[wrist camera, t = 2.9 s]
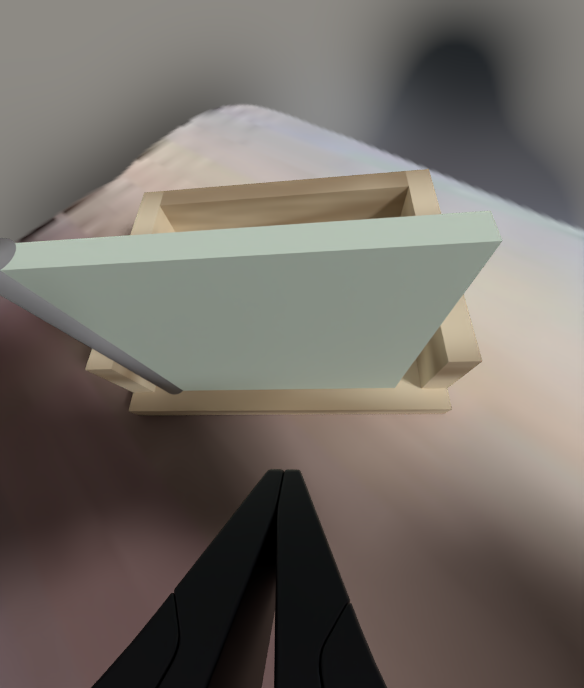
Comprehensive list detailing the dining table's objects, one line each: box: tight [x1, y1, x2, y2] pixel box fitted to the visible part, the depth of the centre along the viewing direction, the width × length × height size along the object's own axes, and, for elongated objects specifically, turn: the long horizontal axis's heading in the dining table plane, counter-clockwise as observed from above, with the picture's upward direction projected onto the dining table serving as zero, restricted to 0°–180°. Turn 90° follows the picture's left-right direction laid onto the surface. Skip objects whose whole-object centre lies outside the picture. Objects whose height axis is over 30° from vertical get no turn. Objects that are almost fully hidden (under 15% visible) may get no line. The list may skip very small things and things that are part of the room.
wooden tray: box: [85, 169, 482, 415], centre depth 16 cm, size 12×16×4 cm
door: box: [0, 211, 502, 395], centre depth 11 cm, size 1×12×10 cm, turn 90°
